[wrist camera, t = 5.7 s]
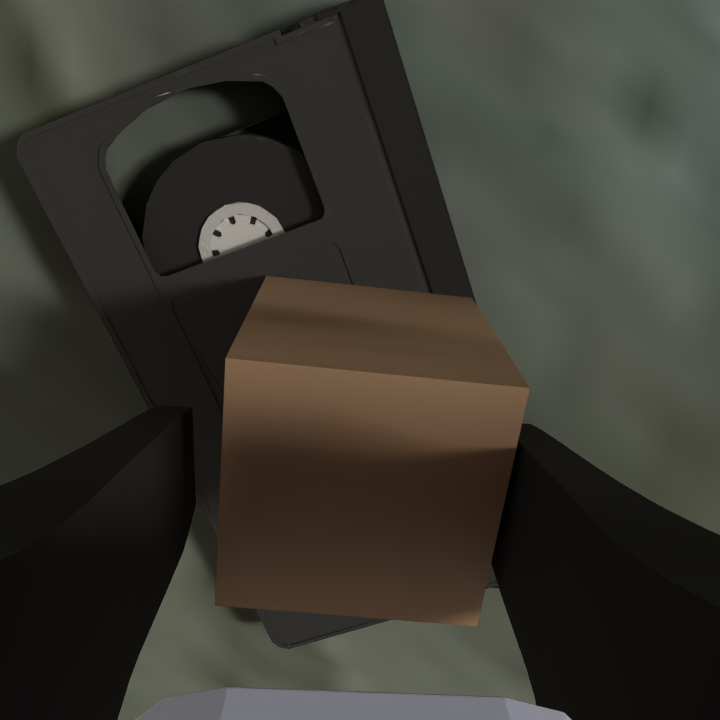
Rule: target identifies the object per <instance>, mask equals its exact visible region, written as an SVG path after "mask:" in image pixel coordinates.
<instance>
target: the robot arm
mask: <svg viewBox="0 0 720 720" xmlns="http://www.w3.org/2000/svg"><path fill="white" fill-rule="evenodd" d="M195 505H196V494H195V465H194V437H193V408H192V407H180V406H160V405H159V406H156V407H154V408H151V409H149V410H147V411H146V412H144V413H142V414H140V415H138V416H136V417H135V418H133V419H131V420H129V421H128V422H126V423H124V424H123V425H121V426H119V427H117V428H116V429H114V430H112V431H110V432H109V433H107V434H105V435H103V436H102V437H100V438H98V439H96V440H94V441H93V442H91V443H89V444H87V445H86V446H84V447H82V448H80V449H78V450H76V451H74V452H72V453H70V454H68V455H66V456H64V457H62V458H60V459H58V460H56V461H54V462H52V463H50V464H48V465H46V466H45V467H43V468H41V469H38V470H36V471H34V472H32V473H30V474H27V475H25V476H23V477H21V478H18V479H16V480H14V481H11V482H9V483H6V484H4V485H1V486H0V720H117V719H118V716H119V713H120V709H121V706H122V703H123V700H124V696H125V693H126V690H127V687H128V683H129V680H130V677H131V675H132V672H133V669H134V667H135V664H136V661H137V659H138V656H139V654H140V651H141V649H142V647H143V644H144V642H145V640H146V637H147V635H148V633H149V630H150V628H151V626H152V623H153V621H154V619H155V616H156V614H157V612H158V609H159V607H160V605H161V602H162V600H163V598H164V595H165V593H166V591H167V589H168V586H169V584H170V581H171V579H172V577H173V574H174V572H175V570H176V567H177V565H178V562H179V560H180V558H181V555H182V553H183V550H184V547H185V543H186V540H187V536H188V532H189V529H190V525H191V521H192V517H193V513H194V509H195ZM491 565H492V568H493V571H494V574H495V577H496V580H497V583H498V586H499V589H500V592H501V595H502V598H503V601H504V604H505V607H506V610H507V613H508V616H509V619H510V622H511V625H512V627H513V630H514V633H515V636H516V639H517V642H518V645H519V648H520V651H521V654H522V657H523V660H524V662H525V665H526V668H527V672H528V675H529V679H530V682H531V685H532V689H533V692H534V696H535V700H536V705H537V706H536V705H532V704H528V703H524V702H520V701H516V700H512V699H508V698H504V697H497V696H470V695H442V694H415V693H387V692H360V691H332V690H305V689H277V688H249V687H225V688H219V689H213V690H207V691H201V692H195V693H189V694H183V695H176V696H171V697H167V698H163V699H162V700H161V701H159V702H158V703H156V704H155V705H154V706H152V707H151V708H150V709H148V710H147V711H146V712H144V713H143V714H141V715H140V716H139V717H137V718H136V719H135V720H720V535H719V534H716V533H714V532H712V531H709V530H707V529H705V528H703V527H701V526H699V525H697V524H695V523H693V522H691V521H689V520H687V519H685V518H683V517H681V516H679V515H677V514H675V513H673V512H671V511H668V510H667V509H665V508H663V507H661V506H659V505H657V504H656V503H654V502H652V501H650V500H648V499H647V498H645V497H643V496H642V495H640V494H638V493H637V492H635V491H633V490H632V489H630V488H628V487H627V486H625V485H623V484H621V483H620V482H618V481H617V480H615V479H614V478H612V477H610V476H609V475H607V474H606V473H604V472H603V471H601V470H600V469H598V468H597V467H595V466H594V465H592V464H591V463H589V462H588V461H586V460H585V459H583V458H582V457H580V456H579V455H578V454H576V453H575V452H573V451H572V450H570V449H569V448H567V447H566V446H564V445H563V444H562V443H560V442H559V441H557V440H556V439H554V438H553V437H551V436H550V435H548V434H547V433H545V432H544V431H542V430H540V429H539V428H537V427H535V426H533V425H531V424H522V426H521V430H520V435H519V439H518V444H517V448H516V453H515V457H514V462H513V466H512V471H511V475H510V480H509V484H508V489H507V493H506V498H505V502H504V507H503V511H502V516H501V520H500V525H499V529H498V534H497V538H496V543H495V547H494V552H493V556H492V561H491Z"/></svg>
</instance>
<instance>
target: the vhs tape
mask: <svg viewBox="0 0 720 720" xmlns="http://www.w3.org/2000/svg"><path fill="white" fill-rule="evenodd" d="M286 31H287V32H285V33H281V32H280V31H279V30H276V31H274V32H271V33H269V34H266V35H264V36H261V37H259V38H256V39H254V40H252V41H249V42H247V43H244V44H242V45H239V46H237V47H234V48H232V49H229V50H227V51H224V52H222V53H220V54H217V55H215V56H212V57H210V58H207V59H205V60H202V61H200V62H197V63H195V64H192V65H190V66H188V67H185V68H183V69H180V70H178V71H175V72H173V73H170V74H168V75H165V76H163V77H160V78H158V79H156V80H153V81H151V82H148V83H146V84H143V85H141V86H138V87H136V88H133V89H131V90H129V91H126V92H124V93H121V94H119V95H116V96H114V97H111V98H109V99H106V100H104V101H101V102H99V103H97V104H94V105H92V106H89V107H87V108H84V109H82V110H79V111H77V112H74V113H72V114H69V115H67V116H65V117H62V118H60V119H57V120H55V121H52V122H50V123H47V124H45V125H42V126H40V127H37V128H35V129H33V130H30V131H28V132H25V133H23V134H22V136H21V137H20V138H19V140H18V141H17V149H16V158H17V160H18V161H19V163H20V165H21V167H22V169H23V171H24V173H25V175H26V177H27V178H28V180H29V182H30V184H31V186H32V188H33V190H34V192H35V194H36V195H37V197H38V199H39V201H40V203H41V205H42V207H43V209H44V211H45V213H46V214H47V216H48V218H49V220H50V222H51V224H52V226H53V228H54V230H55V231H56V233H57V235H58V237H59V239H60V241H61V243H62V245H63V247H64V248H65V250H66V252H67V254H68V256H69V258H70V260H71V262H72V264H73V266H74V267H75V269H76V271H77V273H78V275H79V277H80V279H81V281H82V283H83V284H84V286H85V288H86V290H87V292H88V294H89V296H90V298H91V300H92V301H93V303H94V305H95V307H96V309H97V311H98V313H99V315H100V317H101V319H102V320H103V322H104V324H105V326H106V328H107V330H108V332H109V334H110V336H111V337H112V339H113V341H114V343H115V345H116V347H117V349H118V351H119V353H120V354H121V356H122V358H123V360H124V362H125V364H126V366H127V368H128V370H129V372H130V373H131V375H132V377H133V379H134V381H135V383H136V385H137V387H138V389H139V390H140V392H141V394H142V396H143V398H144V400H145V402H146V404H147V406H148V408H149V409H151V408H154V407H156V406H159V405H160V406H180V407H192V408H193V437H194V465H195V494H196V498H197V500H198V502H199V504H200V506H201V508H202V510H203V512H204V514H205V515H206V517H207V519H208V521H209V523H210V525H211V527H212V529H213V531H214V532H215V534H216V536H217V538H218V523H219V499H220V476H221V452H222V429H223V405H224V381H225V358H226V356H227V354H228V352H229V350H230V348H231V346H232V344H233V342H234V340H235V338H236V336H237V334H238V332H239V330H240V328H241V326H242V324H243V322H244V320H245V318H246V316H247V314H248V312H249V310H250V308H251V306H252V304H253V302H254V300H255V298H256V296H257V294H258V292H259V290H260V288H261V286H262V284H263V282H264V280H265V278H266V276H274V277H283V278H292V279H302V280H311V281H321V282H330V283H340V284H349V285H358V286H368V287H377V288H387V289H396V290H406V291H415V292H425V293H433V294H441V295H450V296H459V297H469V298H473V300H474V302H475V298H474V295H473V292H472V288H471V285H470V282H469V279H468V275H467V272H466V269H465V266H464V262H463V259H462V256H461V252H460V249H459V246H458V243H457V239H456V236H455V233H454V230H453V226H452V223H451V220H450V216H449V213H448V210H447V207H446V203H445V200H444V197H443V194H442V190H441V187H440V184H439V180H438V177H437V174H436V171H435V167H434V164H433V161H432V158H431V154H430V151H429V148H428V145H427V141H426V138H425V135H424V131H423V128H422V125H421V122H420V118H419V115H418V112H417V109H416V105H415V102H414V99H413V95H412V92H411V89H410V86H409V82H408V79H407V76H406V73H405V69H404V66H403V63H402V59H401V56H400V53H399V50H398V46H397V43H396V40H395V37H394V33H393V30H392V27H391V24H390V20H389V17H388V14H387V10H386V7H385V4H384V1H383V0H349V1H347V2H344V3H342V4H340V5H337V6H335V7H332V8H330V9H327V10H325V11H322V12H320V13H317V14H316V15H313V16H311V17H309V18H307V19H304V20H302V21H300V22H298V23H296V24H294V25H293V26H291V27H289V28H288V29H287V30H286ZM223 81H263V82H265V83H267V84H269V85H270V86H272V87H273V88H274V89H275V90H276V91H277V92H278V93H279V94H280V95H281V96H282V97H283V99H284V102H285V105H286V107H287V110H288V111H285V112H288V113H289V115H290V118H291V121H292V123H293V126H294V129H295V131H296V134H297V136H298V139H299V142H300V144H301V147H302V149H301V148H299V147H297V146H295V145H294V144H292V143H290V142H288V141H285V140H282V139H279V138H275V137H271V136H266V135H262V134H257V133H246V134H240V135H233V136H226V135H229V134H231V133H234V132H236V131H234V132H231V133H229V134H226V135H224V136H226V137H223V136H221V137H219V138H216V139H212V140H208V141H205V142H202V143H200V144H199V145H197V146H196V147H194V148H193V149H191V150H189V151H188V152H186V153H185V154H183V155H182V156H180V157H179V158H177V159H175V160H174V161H173V162H172V164H171V165H170V166H169V167H168V168H167V170H166V171H165V172H164V173H163V174H162V175H161V177H160V178H159V179H158V180H157V182H156V184H155V187H154V189H153V191H152V193H151V195H150V198H149V200H148V202H147V204H146V212H145V219H144V227H143V234H142V239H143V244H144V248H143V246H142V244H141V242H140V240H139V238H138V236H137V233H136V231H135V229H134V227H133V225H132V223H131V221H130V219H129V217H128V215H127V213H126V211H125V208H124V206H123V204H122V202H121V200H120V198H119V196H118V194H117V192H116V190H115V188H114V186H113V183H112V181H111V179H110V177H109V175H108V173H107V171H106V166H105V155H106V151H107V148H108V147H109V146H110V145H111V143H112V142H113V141H114V139H115V138H116V137H117V136H118V135H119V134H120V133H121V132H122V131H123V130H124V129H125V128H126V127H127V126H128V125H129V124H130V123H131V122H132V121H133V120H134V119H136V118H137V117H138V116H139V115H140V114H141V113H142V112H144V111H145V110H147V109H148V108H150V107H152V106H154V105H156V104H158V103H159V102H161V101H163V100H165V99H167V98H169V97H171V96H173V95H175V94H176V93H179V92H181V91H185V90H188V89H191V88H194V87H197V86H203V85H208V84H213V83H218V82H223ZM285 112H283V113H285ZM283 113H280V114H283ZM280 114H278V115H280ZM278 115H275V116H278ZM275 116H273V117H275ZM270 118H272V117H270ZM270 118H267V119H270ZM267 119H265V120H267ZM265 120H262V121H265ZM262 121H260V122H262ZM260 122H257V123H260ZM257 123H255V124H257ZM252 125H254V124H252ZM252 125H249V126H252ZM249 126H247V127H249ZM247 127H244V128H247ZM244 128H242V129H244ZM239 130H241V129H239ZM239 130H237V131H239ZM144 249H145V250H144ZM475 303H476V302H475ZM487 588H499V586H498V583H497V580H496V577H495V574H494V571H493V568H492V565H490V570H489V574H488V579H487V583H486V588H485V589H487ZM255 610H256V612H257V614H258V616H259V618H260V620H261V621H262V623H263V625H264V627H265V629H266V631H267V633H268V635H269V637H270V638H271V640H272V642H273V643H274V644H276V645H277V646H278V647H282V648H286V649H290V648H294V647H297V646H301V645H304V644H308V643H311V642H315V641H318V640H322V639H325V638H329V637H332V636H336V635H339V634H343V633H346V632H350V631H353V630H357V629H360V628H364V627H367V626H371V625H374V624H378V623H381V622H385V621H388V620H392V619H379V618H367V617H354V616H342V615H329V614H316V613H304V612H291V611H278V610H266V609H255Z"/></svg>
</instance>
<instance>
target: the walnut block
mask: <svg viewBox="0 0 720 720" xmlns="http://www.w3.org/2000/svg"><path fill="white" fill-rule="evenodd" d="M529 390H530V388H529V386H528V385H527V383H526V381H525V380H524V378H523V377H522V375H521V374H520V372H519V370H518V369H517V367H516V366H515V364H514V363H513V361H512V360H511V358H510V356H509V355H508V353H507V352H506V350H505V349H504V347H503V345H502V344H501V342H500V341H499V339H498V338H497V336H496V334H495V333H494V331H493V330H492V328H491V327H490V325H489V324H488V322H487V320H486V319H485V317H484V316H483V314H482V313H481V311H480V309H479V308H478V306H477V305H476V303H475V302H474V300H473V298H469V297H459V296H450V295H441V294H433V293H425V292H415V291H406V290H396V289H387V288H377V287H368V286H358V285H349V284H340V283H330V282H321V281H311V280H302V279H292V278H283V277H274V276H266V278H265V280H264V282H263V284H262V286H261V288H260V290H259V292H258V294H257V296H256V298H255V300H254V302H253V304H252V306H251V308H250V310H249V312H248V314H247V316H246V318H245V320H244V322H243V324H242V326H241V328H240V330H239V332H238V334H237V336H236V338H235V340H234V342H233V344H232V346H231V348H230V350H229V352H228V354H227V356H226V358H225V381H224V405H223V429H222V452H221V476H220V499H219V523H218V546H217V570H216V593H215V606H228V607H241V608H253V609H266V610H278V611H291V612H304V613H316V614H329V615H342V616H354V617H367V618H379V619H392V620H405V621H417V622H430V623H442V624H455V625H468V626H477V624H478V619H479V615H480V610H481V606H482V601H483V597H484V592H485V588H486V583H487V579H488V574H489V570H490V565H491V561H492V556H493V552H494V547H495V543H496V538H497V534H498V529H499V525H500V520H501V516H502V511H503V507H504V502H505V498H506V493H507V489H508V484H509V480H510V475H511V471H512V466H513V462H514V457H515V453H516V448H517V444H518V439H519V435H520V430H521V426H522V421H523V417H524V412H525V408H526V403H527V399H528V394H529Z"/></svg>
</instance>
